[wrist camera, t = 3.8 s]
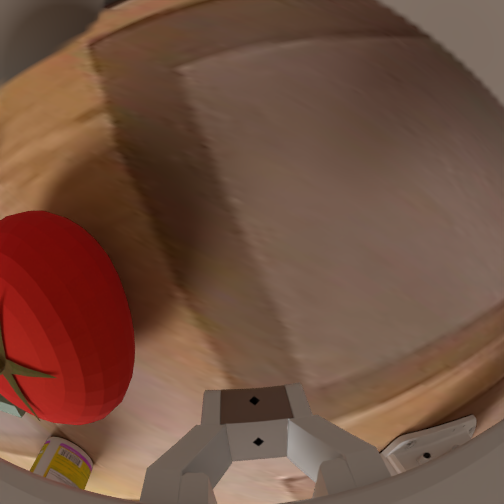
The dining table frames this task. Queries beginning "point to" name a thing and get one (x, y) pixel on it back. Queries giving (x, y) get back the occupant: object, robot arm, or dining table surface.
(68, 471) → the supplement bottle
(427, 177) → the dining table surface
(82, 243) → the tomato
